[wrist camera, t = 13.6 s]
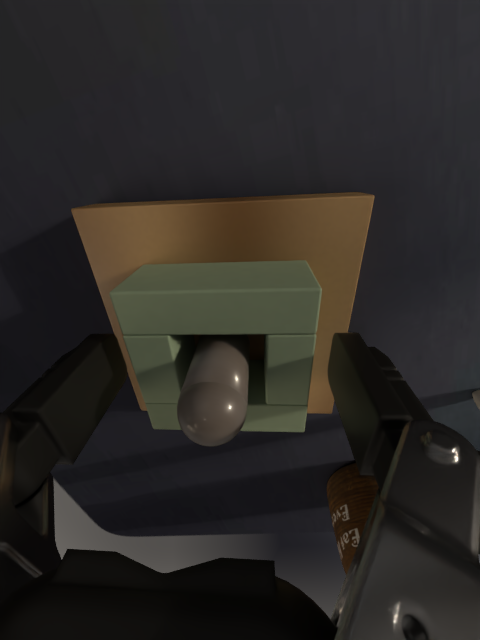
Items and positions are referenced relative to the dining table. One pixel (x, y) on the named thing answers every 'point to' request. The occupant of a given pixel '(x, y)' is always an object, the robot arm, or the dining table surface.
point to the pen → (476, 397)
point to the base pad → (233, 246)
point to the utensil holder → (350, 508)
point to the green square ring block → (223, 332)
